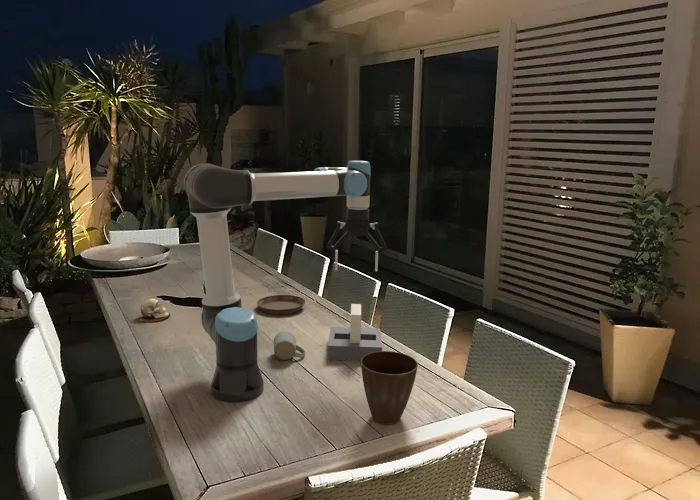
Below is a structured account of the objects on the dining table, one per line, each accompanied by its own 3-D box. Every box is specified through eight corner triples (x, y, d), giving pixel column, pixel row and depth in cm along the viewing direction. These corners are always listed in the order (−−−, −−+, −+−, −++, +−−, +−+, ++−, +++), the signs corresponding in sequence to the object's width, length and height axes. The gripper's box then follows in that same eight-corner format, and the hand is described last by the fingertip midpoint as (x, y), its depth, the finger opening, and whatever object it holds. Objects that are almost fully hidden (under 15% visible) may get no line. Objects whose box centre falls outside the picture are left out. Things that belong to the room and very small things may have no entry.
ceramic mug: (273, 361, 181) (274, 339, 180) (273, 352, 189) (273, 331, 188) (306, 361, 183) (306, 339, 181) (304, 351, 191) (304, 330, 189)
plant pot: (410, 404, 155) (413, 351, 152) (418, 432, 141) (422, 374, 137) (357, 404, 155) (359, 350, 151) (360, 432, 140) (362, 373, 137)
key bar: (360, 343, 186) (361, 315, 184) (349, 343, 186) (350, 314, 184) (360, 330, 198) (361, 304, 196) (350, 330, 198) (351, 303, 196)
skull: (175, 310, 227) (169, 297, 219) (168, 332, 221) (161, 320, 213) (147, 307, 228) (139, 295, 219) (139, 330, 222) (131, 317, 213)
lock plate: (381, 361, 184) (382, 347, 183) (327, 359, 184) (327, 345, 183) (379, 341, 202) (380, 328, 201) (330, 339, 202) (330, 326, 201)
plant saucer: (248, 313, 229) (248, 306, 228) (267, 299, 248) (267, 292, 248) (296, 318, 224) (296, 311, 223) (311, 304, 244) (311, 296, 243)
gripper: (394, 207, 186) (392, 268, 191) (321, 205, 186) (320, 266, 191) (396, 210, 179) (393, 273, 183) (319, 208, 179) (318, 271, 183)
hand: (356, 270), depth 187 cm, fingers open, 13 cm apart
